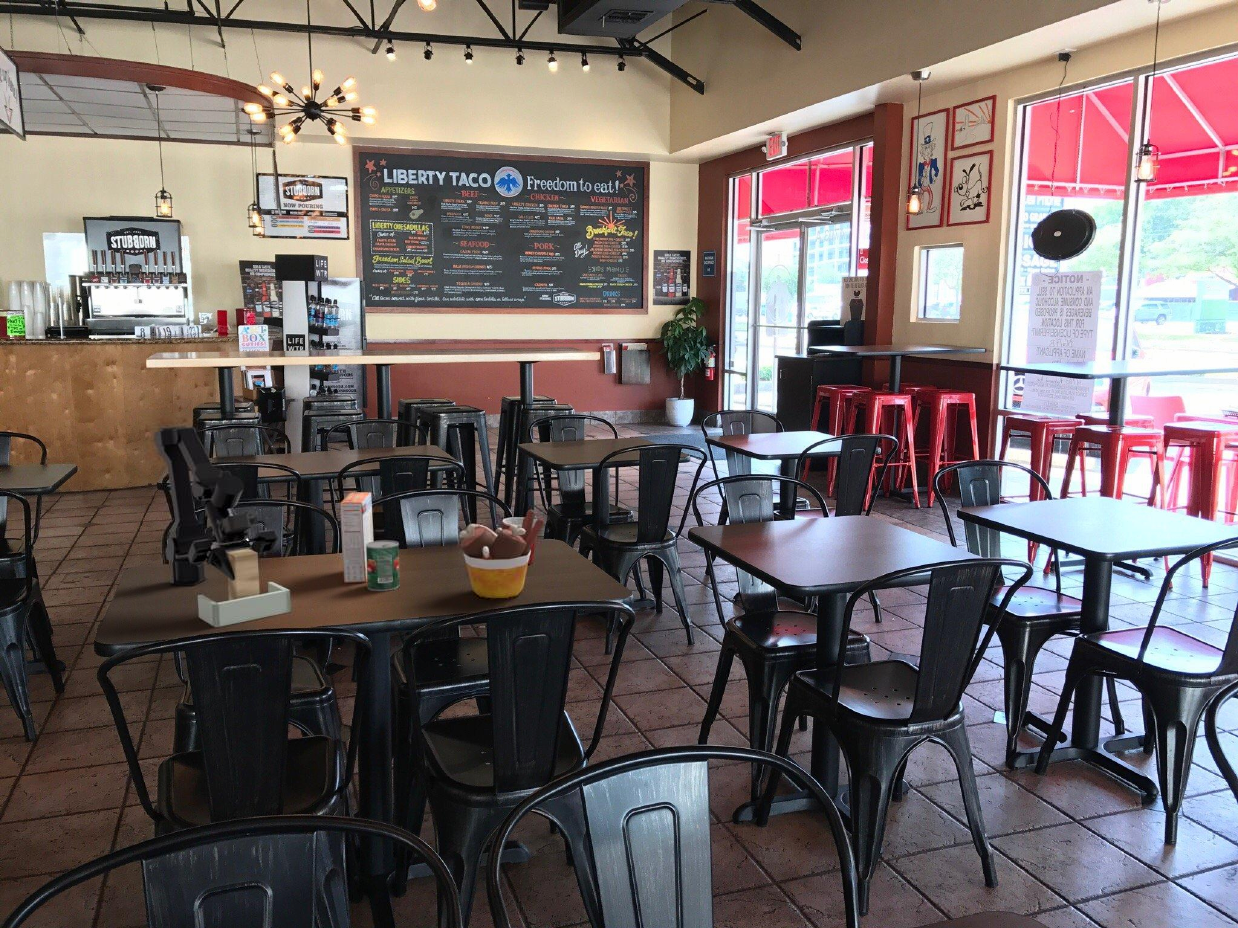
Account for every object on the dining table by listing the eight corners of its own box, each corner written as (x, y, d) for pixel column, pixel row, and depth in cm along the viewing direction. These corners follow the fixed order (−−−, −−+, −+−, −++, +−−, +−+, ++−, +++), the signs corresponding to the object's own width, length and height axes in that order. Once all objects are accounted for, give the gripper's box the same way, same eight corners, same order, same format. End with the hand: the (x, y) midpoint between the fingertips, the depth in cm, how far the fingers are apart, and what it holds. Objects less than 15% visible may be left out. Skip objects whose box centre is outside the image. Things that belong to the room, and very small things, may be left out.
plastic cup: (540, 568, 260) (540, 524, 258) (500, 568, 260) (499, 524, 259) (544, 558, 271) (544, 516, 269) (505, 558, 271) (505, 515, 269)
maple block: (229, 604, 219) (226, 552, 217) (251, 599, 222) (248, 548, 220) (238, 609, 215) (235, 556, 213) (260, 604, 219) (257, 552, 217)
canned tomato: (361, 587, 242) (359, 543, 240) (388, 580, 247) (386, 538, 246) (379, 593, 236) (377, 549, 235) (406, 586, 242) (405, 543, 240)
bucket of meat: (472, 607, 225) (470, 523, 222) (450, 589, 240) (448, 510, 237) (551, 596, 234) (551, 515, 231) (525, 579, 249) (525, 503, 246)
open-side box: (198, 617, 217) (197, 595, 216) (273, 602, 228) (272, 581, 228) (215, 627, 210) (214, 605, 209) (291, 611, 221) (290, 590, 220)
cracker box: (352, 569, 259) (349, 491, 255) (375, 568, 259) (372, 491, 256) (341, 583, 245) (338, 501, 242) (366, 583, 245) (363, 501, 242)
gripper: (189, 505, 212) (211, 564, 205) (272, 495, 224) (295, 550, 218) (179, 534, 219) (199, 592, 212) (260, 522, 231) (282, 577, 225)
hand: (245, 577), depth 217 cm, fingers closed on maple block, 5 cm apart
